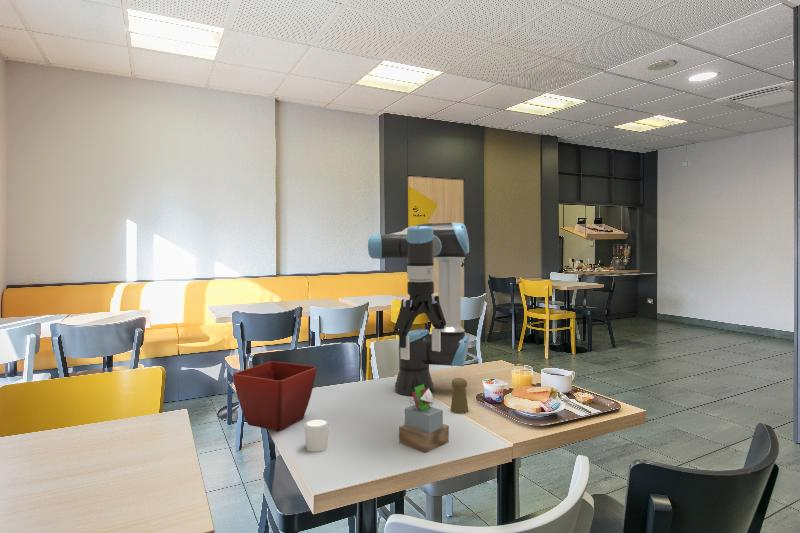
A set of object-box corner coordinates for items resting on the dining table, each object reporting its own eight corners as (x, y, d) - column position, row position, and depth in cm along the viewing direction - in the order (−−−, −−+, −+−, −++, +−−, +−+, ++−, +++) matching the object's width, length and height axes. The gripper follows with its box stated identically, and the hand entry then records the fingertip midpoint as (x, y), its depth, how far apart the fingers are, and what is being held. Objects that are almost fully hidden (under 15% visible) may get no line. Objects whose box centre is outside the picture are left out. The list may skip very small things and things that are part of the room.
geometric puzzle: (400, 400, 138) (413, 381, 134) (416, 394, 143) (428, 375, 139) (415, 419, 134) (429, 400, 130) (431, 413, 139) (444, 394, 135)
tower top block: (418, 420, 141) (418, 403, 141) (442, 427, 135) (442, 410, 135) (404, 425, 137) (404, 408, 137) (429, 433, 131) (429, 415, 131)
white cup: (302, 444, 136) (302, 420, 135) (326, 441, 138) (326, 417, 138) (306, 454, 129) (306, 428, 129) (331, 450, 132) (331, 425, 131)
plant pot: (318, 416, 158) (318, 366, 158) (281, 437, 141) (280, 380, 140) (272, 408, 166) (271, 360, 166) (231, 427, 149) (230, 374, 148)
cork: (471, 412, 161) (471, 379, 161) (455, 414, 159) (455, 381, 158) (462, 406, 167) (462, 375, 166) (447, 409, 165) (447, 377, 164)
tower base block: (422, 433, 144) (422, 417, 144) (448, 443, 137) (448, 425, 137) (399, 444, 137) (399, 426, 136) (425, 454, 130) (425, 435, 129)
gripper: (399, 284, 125) (400, 365, 126) (457, 278, 143) (458, 349, 144) (379, 282, 130) (380, 360, 131) (438, 277, 148) (438, 345, 149)
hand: (421, 354), depth 137 cm, fingers open, 13 cm apart
